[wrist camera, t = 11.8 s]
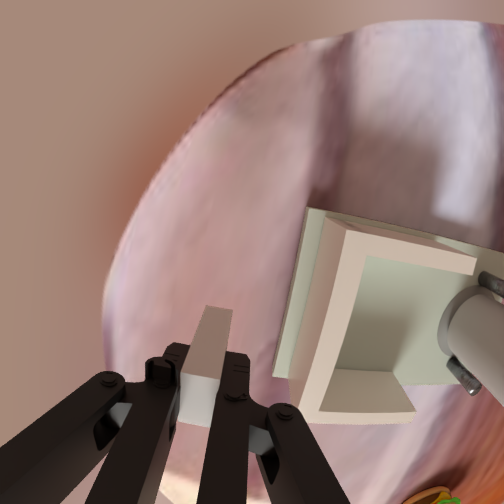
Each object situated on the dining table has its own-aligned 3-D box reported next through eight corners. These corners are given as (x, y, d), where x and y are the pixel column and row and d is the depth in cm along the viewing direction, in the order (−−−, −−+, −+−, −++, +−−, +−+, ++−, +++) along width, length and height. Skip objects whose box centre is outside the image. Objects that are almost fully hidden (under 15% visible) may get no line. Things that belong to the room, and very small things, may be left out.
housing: (435, 240, 22) (477, 258, 17) (387, 382, 25) (410, 422, 20) (325, 216, 22) (346, 229, 16) (287, 375, 25) (293, 421, 20)
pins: (489, 271, 23) (522, 288, 18) (453, 368, 25) (477, 395, 20) (480, 269, 23) (513, 286, 18) (444, 368, 25) (467, 396, 20)
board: (505, 253, 24) (514, 257, 22) (461, 376, 27) (467, 383, 26) (306, 206, 24) (309, 208, 22) (272, 367, 27) (272, 377, 25)
